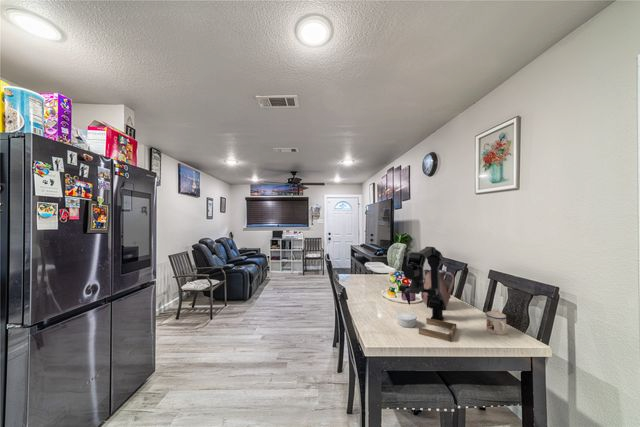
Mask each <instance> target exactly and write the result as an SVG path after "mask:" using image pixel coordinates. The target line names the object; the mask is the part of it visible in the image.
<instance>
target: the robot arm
mask: <svg viewBox="0 0 640 427" xmlns="http://www.w3.org/2000/svg"><path fill="white" fill-rule="evenodd" d="M426 260H427V265H429V267H430V270H431V287H430V288H429V289H424V284H423V282H424V278H425V277H424V267H425V266H424V265H425V262H426ZM443 260H444V257H443V254H442V252H441V251H440V250H438V249H436V247H434V246H425V248H424V247H423V249H421V250H419V251H412V252H410V253H409V255H408V258H407V261H406V268H405V269H403V276H404V278H405V279H406V280H409V281H410V284H405V283H402V284H400V285H398V291H399V292H401V294H403V295H404V296H405V298H406V301H407V303H408V305H409V306H410V305H411V294H415V295H420V294H421V292H426V293H428V295H427V305H426V308H427V309H428V308H430V309H431V314H432V315H431V317H430V319H435V320H440V321H444V319H445V317H444V316H443V311H447V306H446V304H445V302H444V300H443V296H442V294H441V293H440V278H439V270H440V267H441V266H442V264H443ZM428 306H429V307H428Z"/></svg>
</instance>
